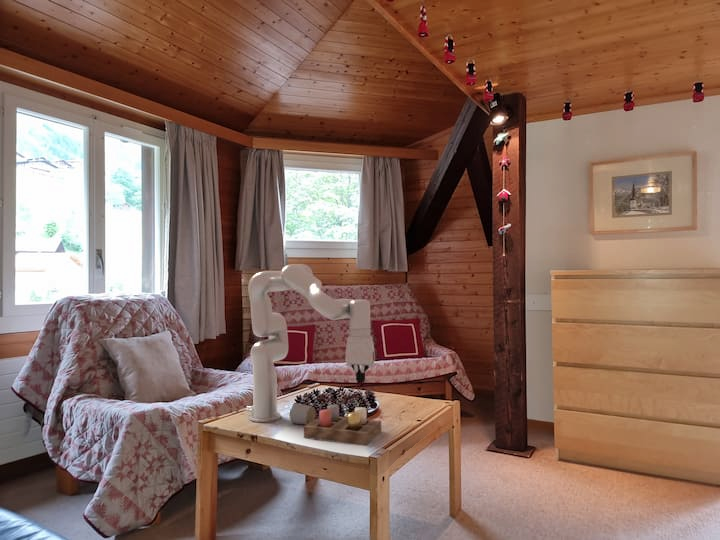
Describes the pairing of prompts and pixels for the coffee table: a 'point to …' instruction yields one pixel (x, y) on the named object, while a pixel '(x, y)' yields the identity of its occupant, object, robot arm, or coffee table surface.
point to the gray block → (334, 412)
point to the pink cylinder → (325, 418)
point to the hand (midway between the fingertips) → (360, 382)
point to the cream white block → (362, 414)
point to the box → (343, 431)
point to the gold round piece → (353, 421)
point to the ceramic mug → (302, 414)
